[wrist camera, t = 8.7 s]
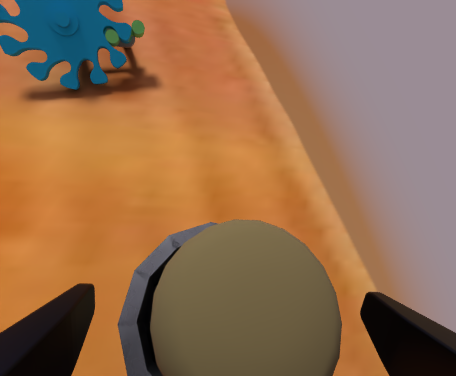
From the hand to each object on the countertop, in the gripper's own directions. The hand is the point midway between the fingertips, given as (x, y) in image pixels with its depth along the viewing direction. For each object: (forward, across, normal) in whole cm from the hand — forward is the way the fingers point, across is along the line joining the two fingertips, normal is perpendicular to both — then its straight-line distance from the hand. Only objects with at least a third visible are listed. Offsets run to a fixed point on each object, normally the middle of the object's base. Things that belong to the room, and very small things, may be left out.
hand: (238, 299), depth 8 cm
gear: (+21, +12, -8) cm, 26 cm away
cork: (+6, 0, +6) cm, 8 cm away
